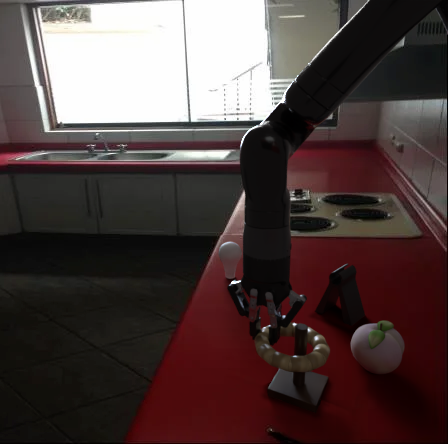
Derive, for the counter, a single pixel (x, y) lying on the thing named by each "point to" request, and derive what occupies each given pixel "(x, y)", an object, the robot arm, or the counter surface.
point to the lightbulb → (230, 258)
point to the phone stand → (343, 295)
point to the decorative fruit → (378, 347)
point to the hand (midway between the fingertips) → (264, 340)
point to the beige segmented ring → (293, 362)
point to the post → (299, 379)
